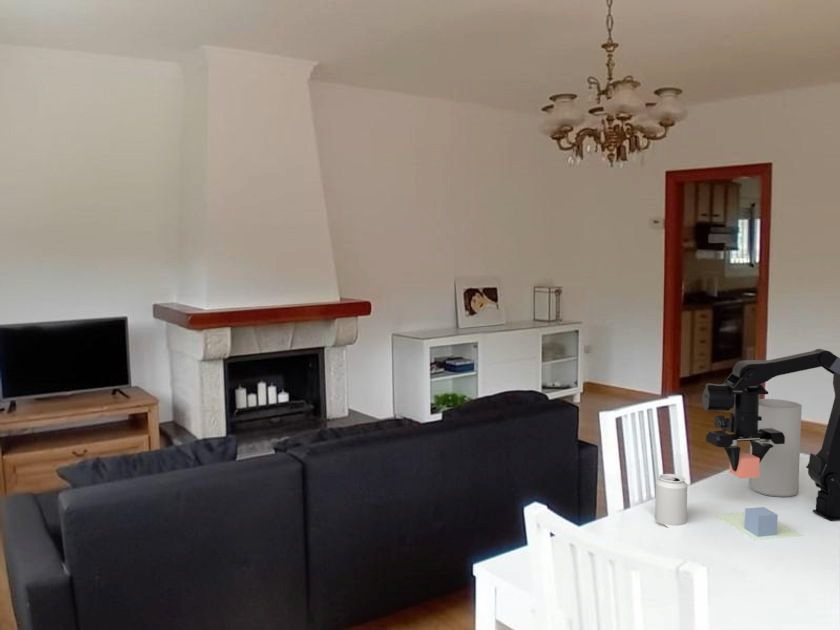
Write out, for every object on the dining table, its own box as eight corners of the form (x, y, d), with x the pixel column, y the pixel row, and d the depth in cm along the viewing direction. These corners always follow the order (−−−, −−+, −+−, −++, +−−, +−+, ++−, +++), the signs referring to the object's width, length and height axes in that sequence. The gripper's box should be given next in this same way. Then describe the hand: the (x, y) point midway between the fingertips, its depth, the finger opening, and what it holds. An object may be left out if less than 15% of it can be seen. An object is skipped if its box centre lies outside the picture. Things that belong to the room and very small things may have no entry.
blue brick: (763, 527, 169) (763, 507, 169) (776, 535, 164) (777, 514, 164) (744, 528, 168) (745, 508, 168) (757, 536, 164) (758, 516, 163)
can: (688, 530, 170) (690, 482, 169) (656, 528, 172) (657, 480, 171) (683, 519, 177) (684, 473, 176) (652, 517, 179) (653, 471, 178)
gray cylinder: (746, 492, 196) (749, 405, 194) (751, 480, 207) (754, 397, 204) (796, 500, 189) (800, 410, 187) (799, 487, 200) (803, 401, 198)
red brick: (747, 471, 183) (747, 452, 182) (759, 477, 178) (759, 458, 177) (729, 472, 182) (730, 453, 182) (740, 478, 177) (741, 459, 177)
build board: (760, 514, 180) (760, 511, 180) (804, 539, 164) (804, 535, 164) (713, 518, 178) (714, 514, 177) (753, 544, 162) (754, 540, 162)
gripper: (760, 402, 188) (758, 459, 189) (695, 405, 185) (693, 462, 186) (787, 411, 177) (785, 471, 178) (719, 415, 174) (717, 475, 175)
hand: (744, 470), depth 180 cm, fingers closed on red brick, 5 cm apart
